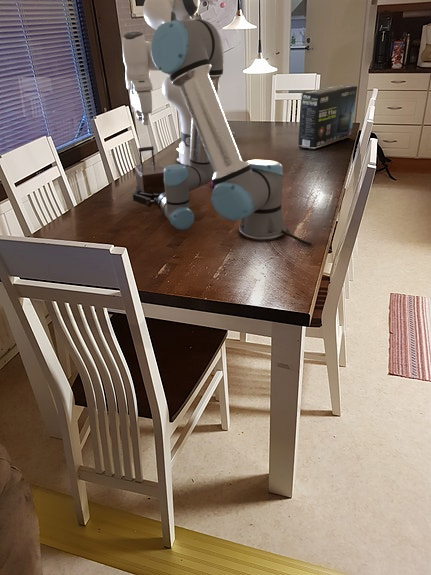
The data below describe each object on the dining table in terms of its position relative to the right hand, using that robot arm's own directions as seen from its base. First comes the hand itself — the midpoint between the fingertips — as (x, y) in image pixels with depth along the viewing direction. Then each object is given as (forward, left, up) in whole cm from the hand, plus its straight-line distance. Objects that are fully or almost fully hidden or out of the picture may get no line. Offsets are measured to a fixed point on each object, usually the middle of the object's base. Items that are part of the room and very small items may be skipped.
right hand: (154, 186), depth 174 cm
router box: (-30, -110, -6) cm, 115 cm away
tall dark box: (+6, -7, +4) cm, 10 cm away
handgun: (-19, -21, -6) cm, 29 cm away
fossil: (+24, -91, -6) cm, 95 cm away
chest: (+6, -6, -6) cm, 11 cm away
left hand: (+10, -9, +21) cm, 25 cm away
